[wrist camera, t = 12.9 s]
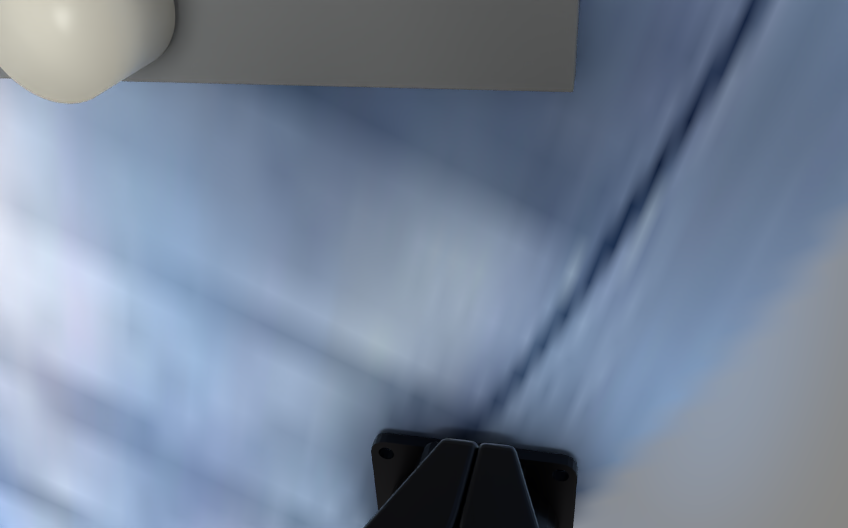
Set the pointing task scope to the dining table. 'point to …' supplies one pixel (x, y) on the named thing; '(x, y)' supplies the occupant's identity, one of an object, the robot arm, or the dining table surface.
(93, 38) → the beige wooden bar
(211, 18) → the dial board
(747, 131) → the dining table surface
